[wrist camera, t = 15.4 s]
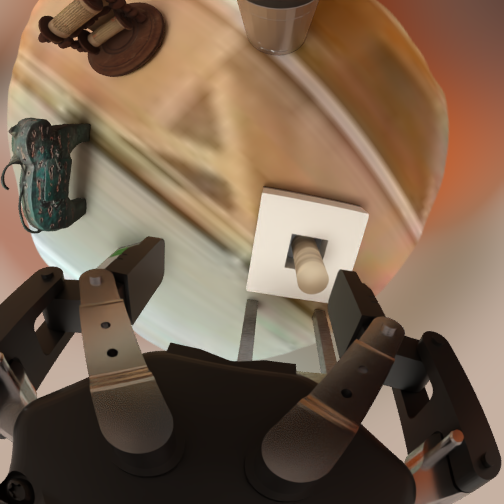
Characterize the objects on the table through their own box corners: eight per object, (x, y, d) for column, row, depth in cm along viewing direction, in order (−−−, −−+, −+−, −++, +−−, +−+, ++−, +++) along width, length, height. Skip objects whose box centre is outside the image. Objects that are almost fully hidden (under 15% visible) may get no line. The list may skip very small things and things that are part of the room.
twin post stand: (245, 275, 49) (223, 389, 26) (337, 289, 49) (372, 401, 26) (240, 306, 52) (219, 420, 29) (326, 319, 52) (349, 430, 29)
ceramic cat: (75, 115, 38) (-6, 122, 20) (100, 115, 39) (18, 118, 20) (70, 214, 47) (1, 254, 28) (94, 218, 47) (24, 263, 28)
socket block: (263, 186, 42) (262, 192, 38) (359, 205, 42) (369, 214, 38) (248, 275, 49) (245, 290, 44) (334, 289, 49) (340, 304, 44)
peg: (294, 230, 44) (301, 264, 33) (317, 235, 44) (332, 269, 33) (289, 253, 46) (294, 292, 35) (312, 257, 46) (324, 296, 35)
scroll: (154, -6, 29) (98, -55, 10) (178, 49, 34) (118, 5, 16) (88, 37, 32) (16, 15, 13) (106, 93, 37) (25, 85, 19)
